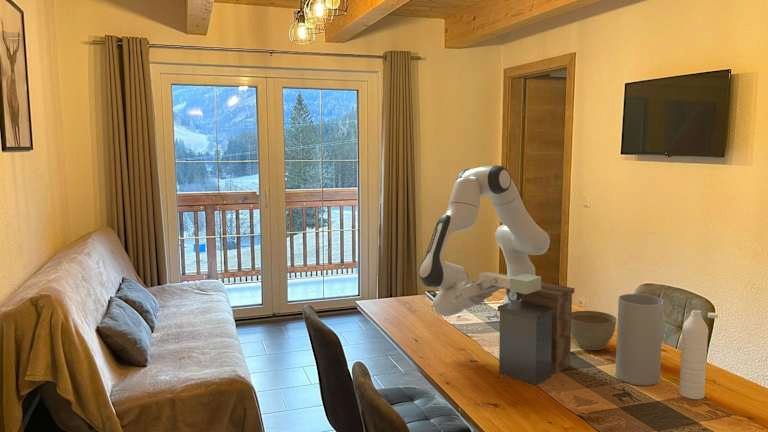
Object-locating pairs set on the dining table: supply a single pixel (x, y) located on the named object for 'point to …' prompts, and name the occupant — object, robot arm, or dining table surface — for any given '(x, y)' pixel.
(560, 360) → the tall stand
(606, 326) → the planter bowl
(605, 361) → the dining table surface
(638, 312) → the cylinder vase
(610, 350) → the dining table surface
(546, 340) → the dark grey box
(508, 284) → the mallet
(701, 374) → the water bottle
